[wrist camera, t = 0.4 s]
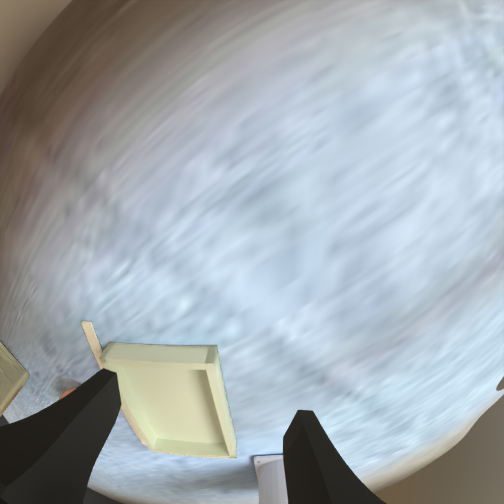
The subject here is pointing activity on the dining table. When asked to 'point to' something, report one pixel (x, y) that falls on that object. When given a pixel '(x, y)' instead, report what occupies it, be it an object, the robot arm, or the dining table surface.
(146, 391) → the tray
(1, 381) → the skincare box
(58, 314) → the dining table surface
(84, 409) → the robot arm
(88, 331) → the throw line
